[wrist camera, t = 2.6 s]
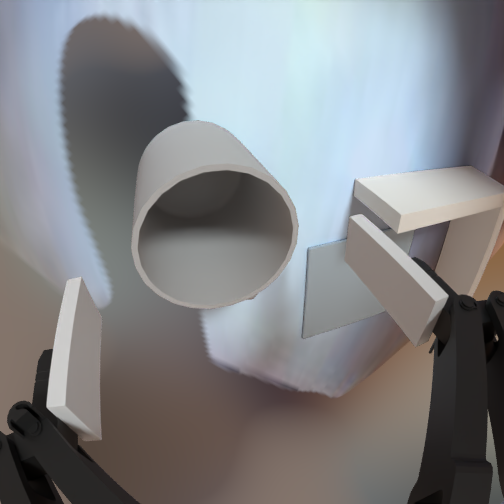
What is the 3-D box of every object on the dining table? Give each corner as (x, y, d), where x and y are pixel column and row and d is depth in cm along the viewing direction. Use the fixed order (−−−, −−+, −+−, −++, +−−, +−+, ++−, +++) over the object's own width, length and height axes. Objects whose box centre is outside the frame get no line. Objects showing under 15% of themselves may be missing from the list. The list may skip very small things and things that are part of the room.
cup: (220, 99, 18) (267, 131, 11) (272, 220, 24) (325, 299, 17) (117, 153, 18) (96, 221, 11) (187, 262, 24) (208, 355, 17)
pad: (307, 247, 27) (309, 249, 27) (414, 222, 29) (415, 224, 29) (301, 337, 34) (303, 339, 34) (390, 307, 36) (392, 308, 36)
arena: (355, 178, 24) (401, 214, 20) (471, 165, 27) (512, 191, 23) (335, 321, 34) (361, 361, 30) (436, 284, 37) (463, 313, 32)
